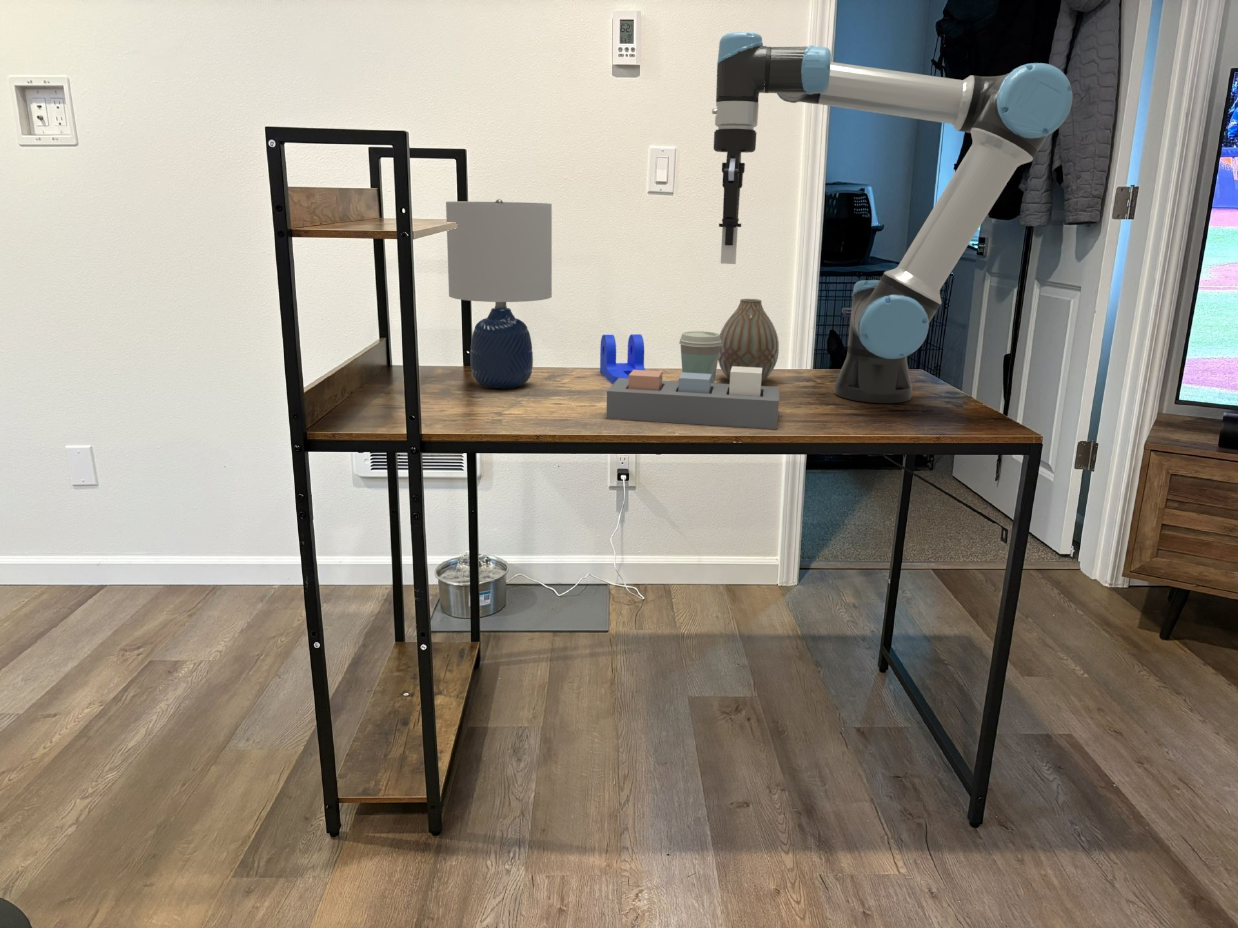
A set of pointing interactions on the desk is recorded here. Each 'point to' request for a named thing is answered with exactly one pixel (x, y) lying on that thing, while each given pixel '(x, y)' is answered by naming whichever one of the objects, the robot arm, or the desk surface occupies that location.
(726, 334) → the vase
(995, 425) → the desk surface
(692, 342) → the coffee cup
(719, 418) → the grey socket block
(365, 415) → the desk surface
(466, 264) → the lamp
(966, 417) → the desk surface
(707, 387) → the slate key
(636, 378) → the terracotta key
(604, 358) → the bracket
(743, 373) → the white key
